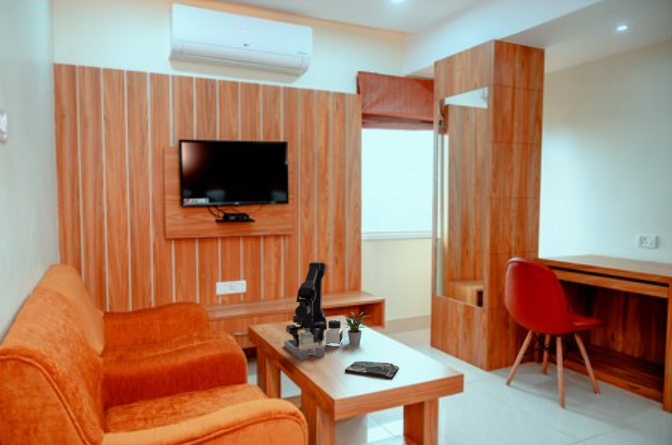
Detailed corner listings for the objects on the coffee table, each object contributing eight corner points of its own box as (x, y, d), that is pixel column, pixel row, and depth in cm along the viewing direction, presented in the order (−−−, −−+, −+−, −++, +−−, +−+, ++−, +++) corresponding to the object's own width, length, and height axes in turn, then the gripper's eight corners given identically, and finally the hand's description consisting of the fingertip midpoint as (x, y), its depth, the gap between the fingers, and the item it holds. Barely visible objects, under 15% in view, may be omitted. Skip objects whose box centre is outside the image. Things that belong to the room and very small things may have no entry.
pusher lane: (284, 346, 235) (284, 338, 235) (307, 343, 240) (307, 335, 240) (300, 359, 216) (300, 351, 216) (324, 356, 221) (324, 347, 221)
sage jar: (309, 350, 229) (309, 331, 229) (313, 353, 224) (313, 335, 224) (298, 351, 227) (298, 333, 226) (302, 355, 222) (303, 336, 222)
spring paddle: (299, 355, 221) (299, 344, 221) (317, 352, 225) (317, 342, 225) (305, 360, 215) (305, 349, 214) (324, 357, 219) (324, 346, 218)
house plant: (371, 339, 247) (372, 308, 246) (370, 348, 234) (371, 315, 233) (344, 338, 249) (344, 307, 248) (341, 346, 235) (342, 313, 234)
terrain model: (400, 368, 208) (400, 361, 208) (391, 381, 194) (391, 373, 194) (355, 362, 216) (355, 355, 215) (344, 374, 201) (344, 366, 201)
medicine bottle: (339, 347, 235) (340, 322, 234) (325, 346, 236) (325, 322, 235) (342, 342, 242) (342, 319, 241) (328, 341, 243) (329, 318, 242)
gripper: (317, 307, 236) (317, 338, 237) (281, 311, 227) (281, 343, 228) (327, 312, 226) (327, 345, 227) (290, 316, 217) (290, 350, 218)
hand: (306, 345), depth 225 cm, fingers open, 9 cm apart
